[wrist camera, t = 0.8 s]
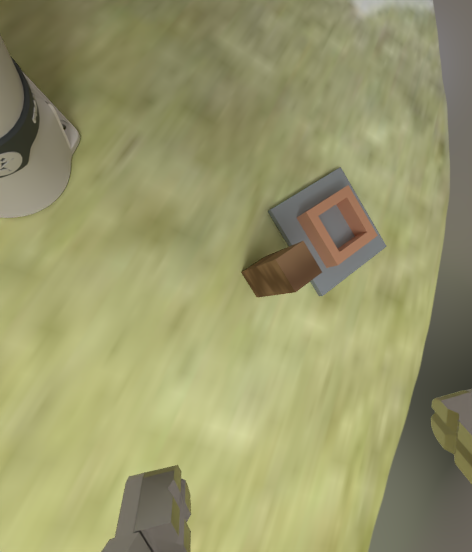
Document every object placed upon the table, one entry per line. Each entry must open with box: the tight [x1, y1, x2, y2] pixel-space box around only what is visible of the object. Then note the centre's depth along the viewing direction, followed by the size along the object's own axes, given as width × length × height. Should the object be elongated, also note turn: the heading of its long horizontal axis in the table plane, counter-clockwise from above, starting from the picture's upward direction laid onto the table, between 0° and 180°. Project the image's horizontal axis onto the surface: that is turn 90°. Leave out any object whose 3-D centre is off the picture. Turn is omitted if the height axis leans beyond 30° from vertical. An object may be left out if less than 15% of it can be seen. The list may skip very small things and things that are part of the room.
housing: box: [268, 167, 386, 296], centre depth 53 cm, size 16×16×4 cm
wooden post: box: [241, 241, 322, 297], centre depth 44 cm, size 4×4×12 cm
